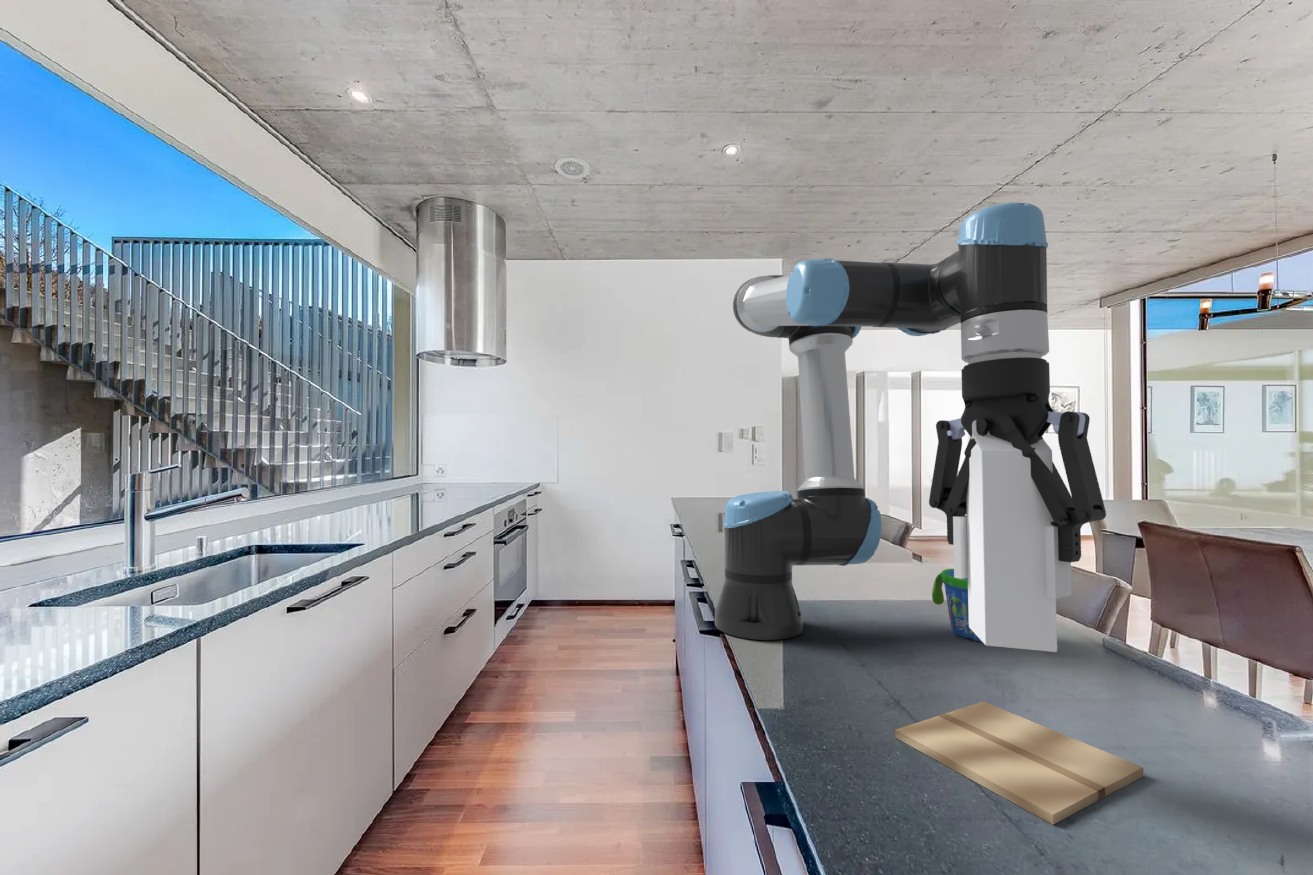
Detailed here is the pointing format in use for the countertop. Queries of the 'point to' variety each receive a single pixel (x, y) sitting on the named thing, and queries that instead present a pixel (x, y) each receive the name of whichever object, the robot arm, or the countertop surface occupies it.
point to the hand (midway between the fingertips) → (1008, 585)
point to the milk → (1008, 548)
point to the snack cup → (954, 601)
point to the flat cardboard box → (1021, 759)
